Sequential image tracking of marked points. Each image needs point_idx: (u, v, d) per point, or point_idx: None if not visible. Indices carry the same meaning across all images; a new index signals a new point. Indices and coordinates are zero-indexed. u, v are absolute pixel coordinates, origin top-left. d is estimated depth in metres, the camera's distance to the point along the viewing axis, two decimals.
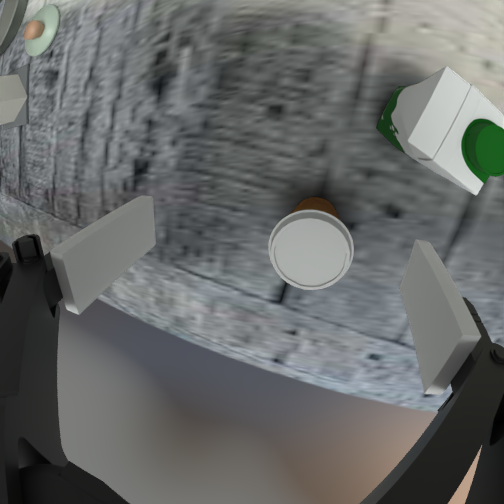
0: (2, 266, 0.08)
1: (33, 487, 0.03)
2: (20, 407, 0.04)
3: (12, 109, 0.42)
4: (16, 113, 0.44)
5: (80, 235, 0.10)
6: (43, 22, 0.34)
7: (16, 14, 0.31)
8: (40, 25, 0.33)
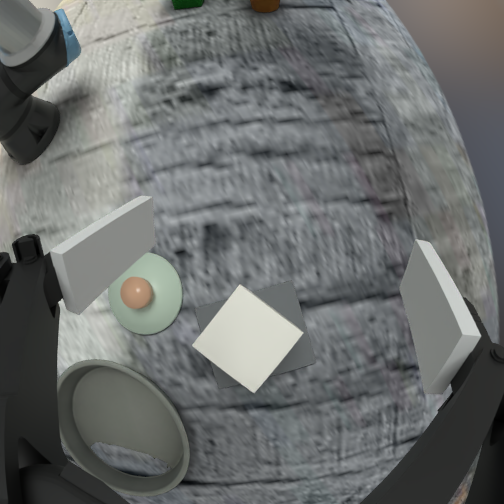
0: (2, 266, 0.08)
1: (33, 487, 0.03)
2: (20, 407, 0.04)
3: None
4: (278, 312, 0.39)
5: (80, 235, 0.10)
6: None
7: None
8: None
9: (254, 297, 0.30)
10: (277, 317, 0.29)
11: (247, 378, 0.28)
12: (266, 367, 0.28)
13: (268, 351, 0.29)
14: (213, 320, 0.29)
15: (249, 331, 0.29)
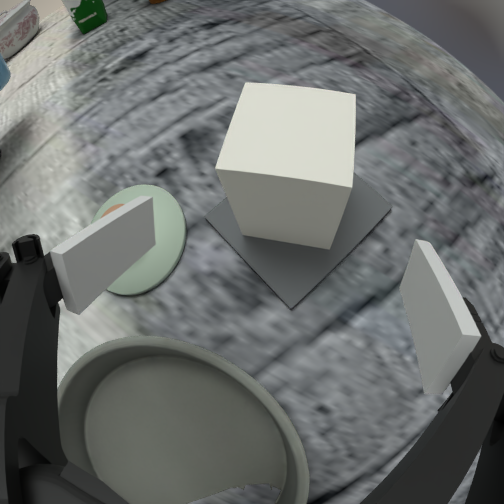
0: (2, 266, 0.08)
1: (33, 487, 0.03)
2: (20, 407, 0.04)
3: None
4: None
5: (80, 235, 0.10)
6: None
7: (113, 355, 0.23)
8: None
9: (271, 85, 0.19)
10: (313, 91, 0.18)
11: (327, 170, 0.16)
12: (342, 144, 0.17)
13: (330, 125, 0.17)
14: (232, 125, 0.18)
15: (288, 114, 0.18)
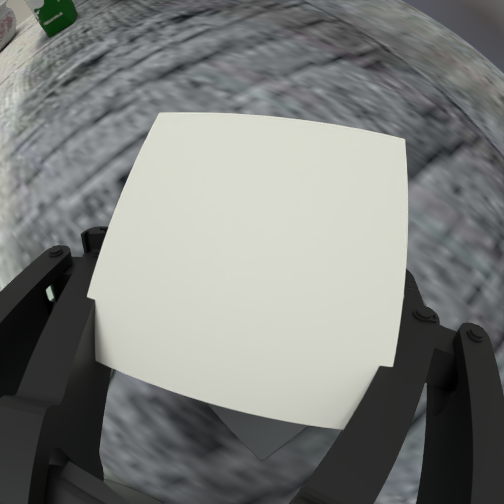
0: (60, 262, 0.09)
1: None
2: (60, 416, 0.04)
3: None
4: None
5: None
6: None
7: None
8: None
9: (210, 116, 0.09)
10: (307, 128, 0.08)
11: (322, 390, 0.06)
12: (372, 303, 0.06)
13: (345, 239, 0.07)
14: (110, 233, 0.08)
15: (239, 203, 0.08)
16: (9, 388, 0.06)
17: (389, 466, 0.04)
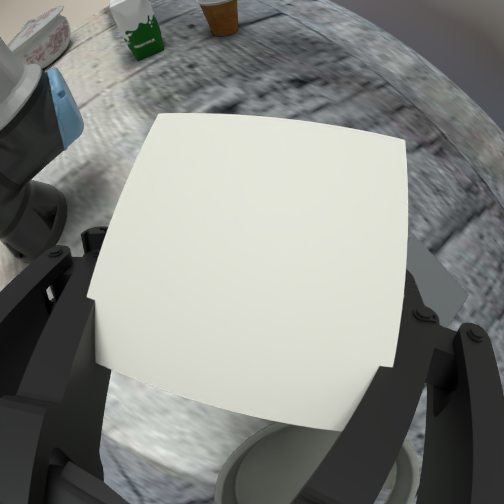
0: (60, 262, 0.09)
1: None
2: (60, 416, 0.04)
3: None
4: None
5: None
6: None
7: None
8: None
9: (210, 117, 0.09)
10: (307, 129, 0.08)
11: (322, 391, 0.06)
12: (372, 305, 0.06)
13: (344, 240, 0.07)
14: (109, 234, 0.08)
15: (238, 205, 0.08)
16: (9, 388, 0.06)
17: (389, 466, 0.04)
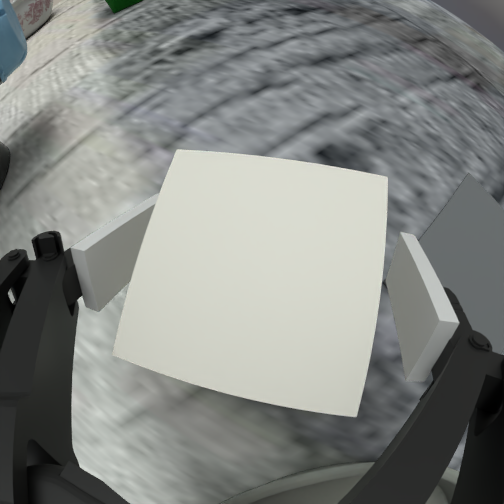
0: (18, 264, 0.08)
1: (33, 487, 0.03)
2: (32, 409, 0.04)
3: None
4: None
5: (101, 232, 0.11)
6: None
7: None
8: None
9: (222, 155, 0.11)
10: (305, 169, 0.10)
11: (313, 382, 0.08)
12: (353, 317, 0.08)
13: (332, 265, 0.09)
14: (141, 258, 0.10)
15: (249, 236, 0.10)
16: None
17: (429, 492, 0.03)
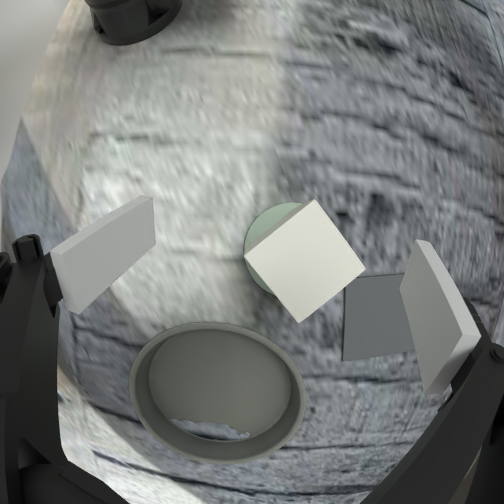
0: (2, 266, 0.08)
1: (33, 487, 0.03)
2: (20, 407, 0.04)
3: None
4: None
5: (80, 235, 0.10)
6: None
7: None
8: None
9: (326, 217, 0.26)
10: (345, 246, 0.26)
11: (296, 305, 0.27)
12: (319, 297, 0.27)
13: (326, 280, 0.27)
14: (276, 232, 0.26)
15: (312, 253, 0.26)
16: None
17: None
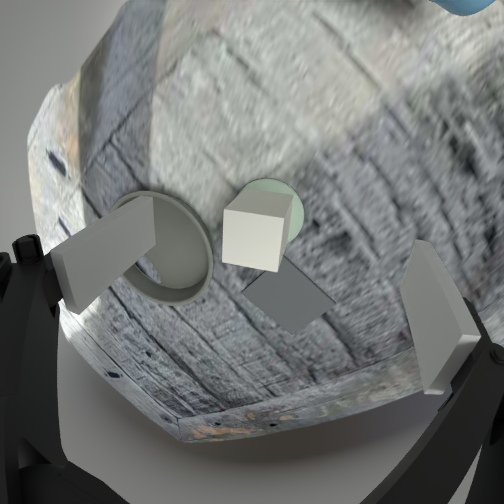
0: (2, 266, 0.08)
1: (33, 487, 0.03)
2: (20, 407, 0.04)
3: (289, 220, 0.47)
4: (289, 226, 0.49)
5: (80, 235, 0.10)
6: None
7: None
8: None
9: (281, 232, 0.39)
10: (277, 252, 0.40)
11: (228, 253, 0.42)
12: (242, 261, 0.42)
13: (253, 257, 0.41)
14: (249, 214, 0.39)
15: (257, 240, 0.40)
16: None
17: None
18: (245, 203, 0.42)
